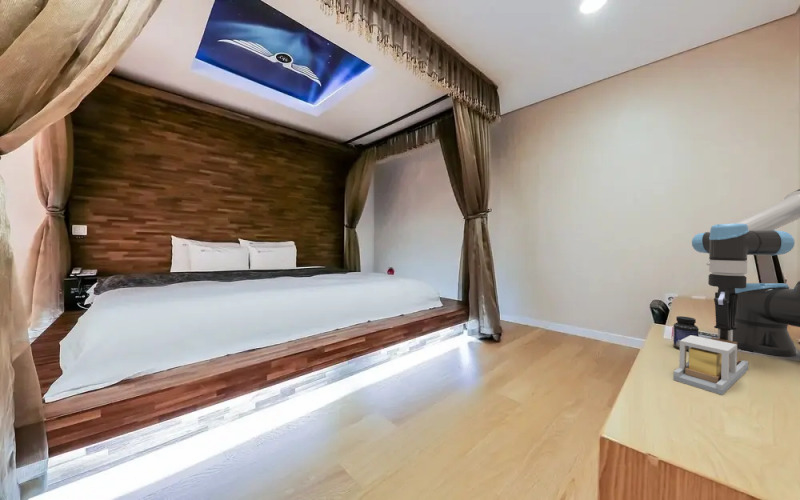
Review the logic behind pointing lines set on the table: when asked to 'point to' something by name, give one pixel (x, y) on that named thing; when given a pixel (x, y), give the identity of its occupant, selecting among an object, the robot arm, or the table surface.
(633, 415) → the table surface
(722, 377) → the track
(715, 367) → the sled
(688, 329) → the pill bottle
